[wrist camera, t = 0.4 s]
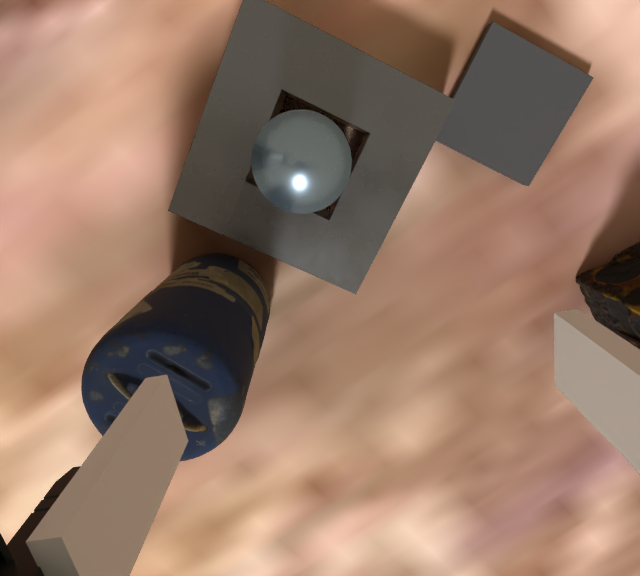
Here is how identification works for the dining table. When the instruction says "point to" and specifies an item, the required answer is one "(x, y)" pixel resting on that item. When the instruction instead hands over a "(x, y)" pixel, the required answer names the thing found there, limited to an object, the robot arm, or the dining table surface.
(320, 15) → the dining table surface
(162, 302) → the canister
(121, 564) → the robot arm
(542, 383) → the dining table surface
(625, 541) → the dining table surface
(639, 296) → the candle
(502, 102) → the coaster
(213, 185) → the housing
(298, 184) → the silver metal cylinder
